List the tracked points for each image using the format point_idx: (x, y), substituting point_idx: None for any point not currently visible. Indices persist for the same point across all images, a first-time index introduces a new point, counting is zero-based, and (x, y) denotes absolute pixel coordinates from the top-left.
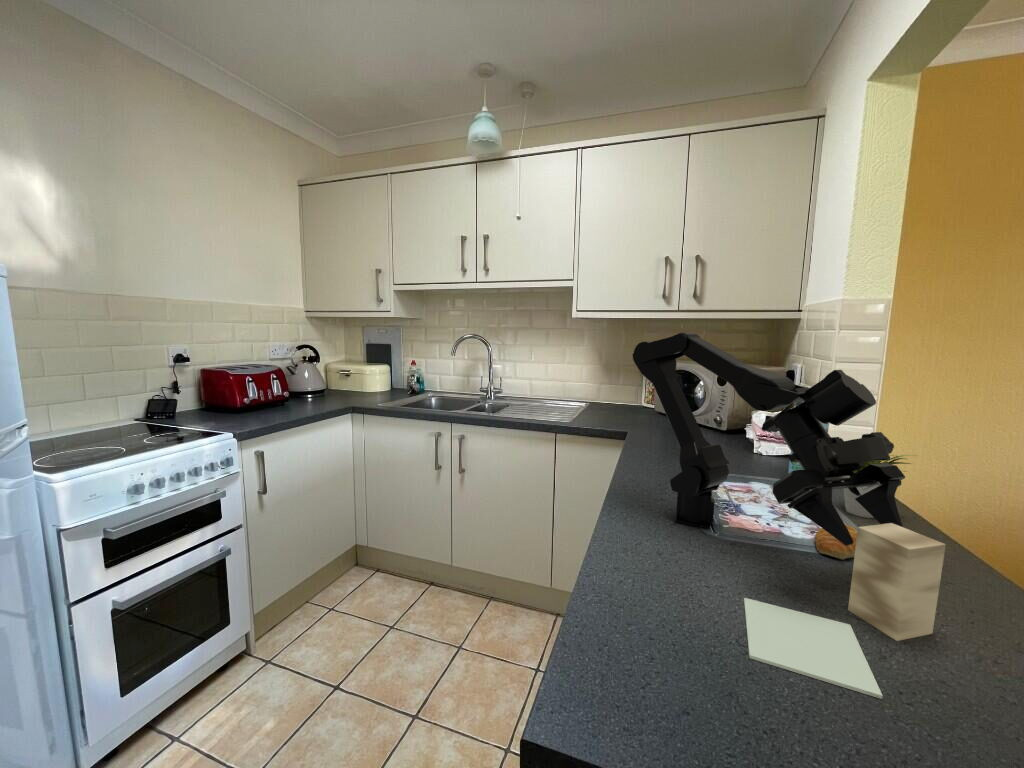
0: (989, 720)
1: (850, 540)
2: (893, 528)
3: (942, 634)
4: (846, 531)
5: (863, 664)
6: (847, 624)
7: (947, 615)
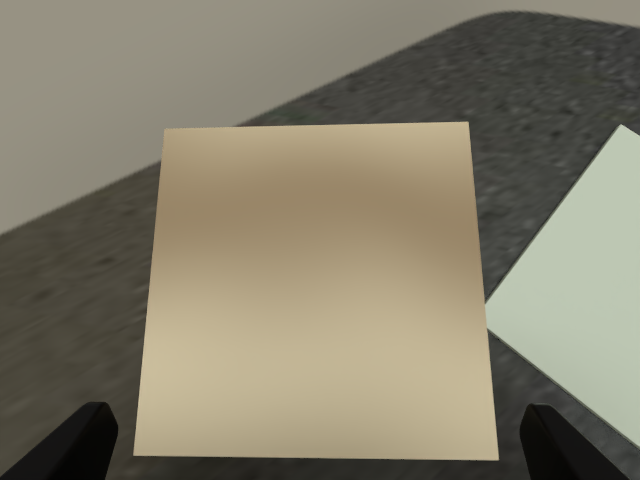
0: (447, 59)
1: (557, 414)
2: (238, 371)
3: None
4: (590, 463)
5: (580, 196)
6: None
7: (131, 297)
